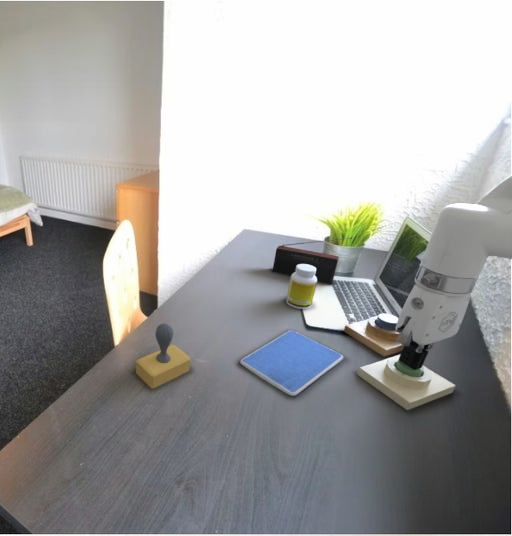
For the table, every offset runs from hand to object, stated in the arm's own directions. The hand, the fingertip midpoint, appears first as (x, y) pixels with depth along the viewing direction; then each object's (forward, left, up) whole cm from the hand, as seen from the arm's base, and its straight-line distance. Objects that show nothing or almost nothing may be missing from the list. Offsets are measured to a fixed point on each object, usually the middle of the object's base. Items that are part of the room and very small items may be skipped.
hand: (409, 364), depth 71 cm
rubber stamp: (+42, -20, -5) cm, 47 cm away
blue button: (-10, -12, -1) cm, 16 cm away
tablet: (+15, -13, -5) cm, 20 cm away
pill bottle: (-4, -31, -5) cm, 32 cm away
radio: (-17, -42, -5) cm, 46 cm away
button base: (-10, -12, -5) cm, 16 cm away
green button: (0, 0, -2) cm, 2 cm away
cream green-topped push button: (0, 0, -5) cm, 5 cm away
